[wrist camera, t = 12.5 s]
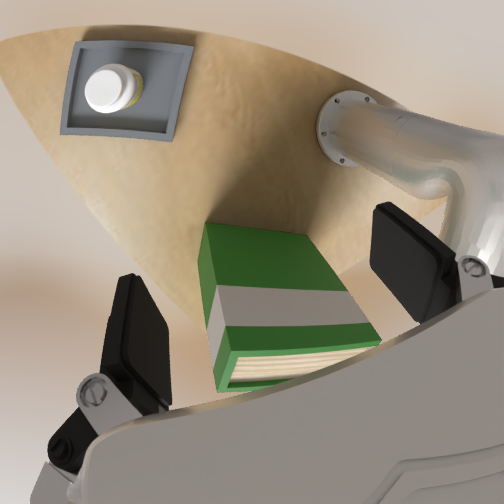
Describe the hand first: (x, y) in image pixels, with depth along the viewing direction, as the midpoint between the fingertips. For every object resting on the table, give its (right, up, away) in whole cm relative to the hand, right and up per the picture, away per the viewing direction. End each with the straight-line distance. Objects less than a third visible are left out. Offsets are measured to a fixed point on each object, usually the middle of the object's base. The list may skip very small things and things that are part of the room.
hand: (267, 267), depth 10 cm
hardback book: (0, +1, +37) cm, 37 cm away
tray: (-17, +22, +18) cm, 33 cm away
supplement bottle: (-17, +21, +18) cm, 33 cm away
